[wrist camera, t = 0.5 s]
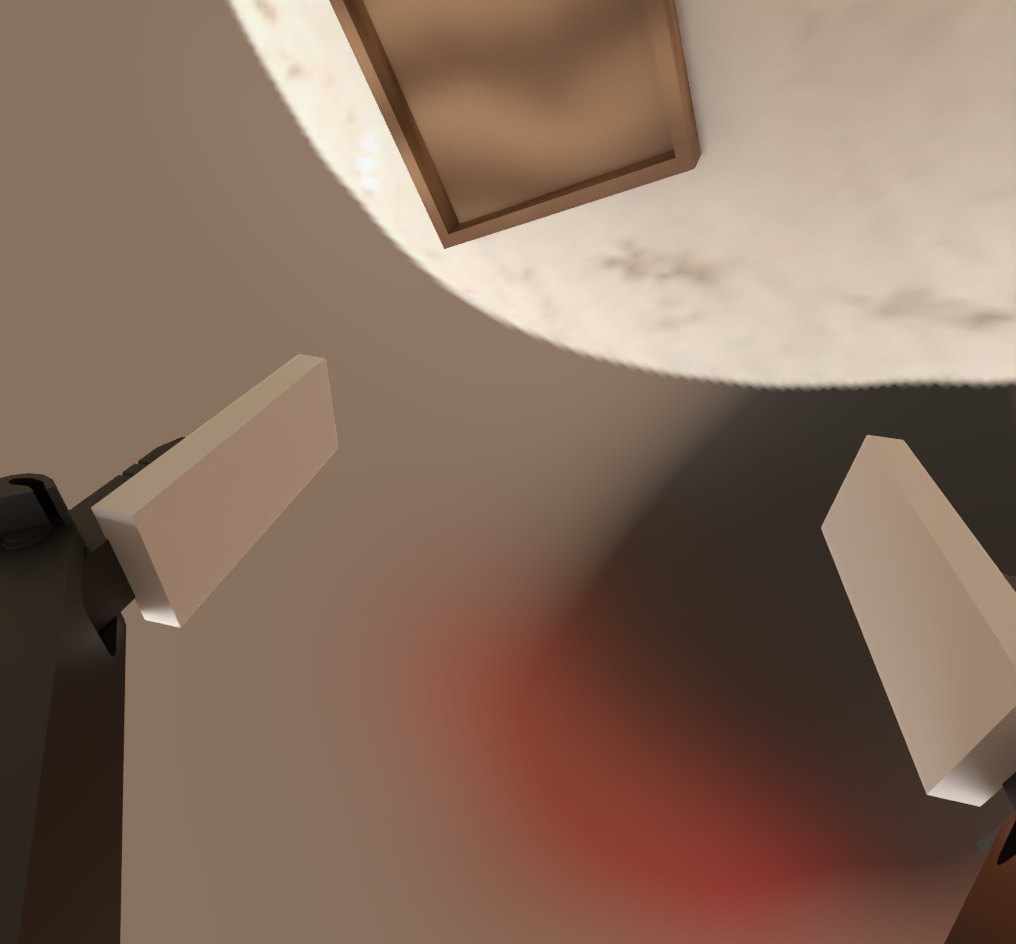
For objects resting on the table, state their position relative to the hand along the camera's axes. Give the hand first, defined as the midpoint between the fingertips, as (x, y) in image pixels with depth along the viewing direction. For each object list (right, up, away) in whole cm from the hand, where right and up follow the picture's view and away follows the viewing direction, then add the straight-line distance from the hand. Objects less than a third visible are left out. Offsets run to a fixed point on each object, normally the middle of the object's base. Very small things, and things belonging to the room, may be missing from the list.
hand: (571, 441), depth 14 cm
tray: (-1, +22, +16) cm, 28 cm away
